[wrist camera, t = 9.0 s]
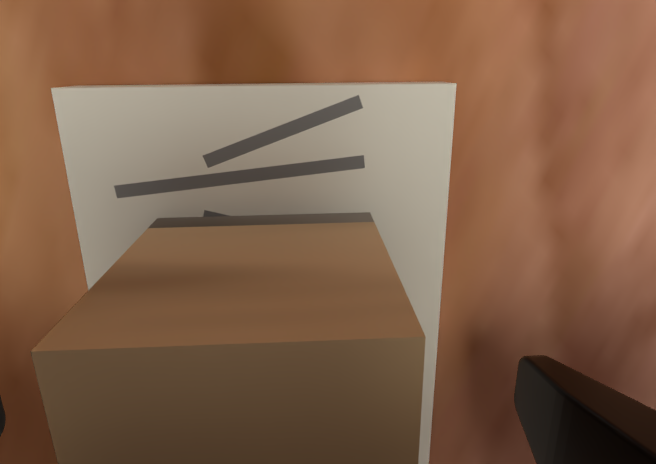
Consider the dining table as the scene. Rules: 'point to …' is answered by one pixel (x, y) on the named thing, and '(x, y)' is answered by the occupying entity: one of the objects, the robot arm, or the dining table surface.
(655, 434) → the robot arm
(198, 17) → the dining table surface
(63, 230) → the dining table surface
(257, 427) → the block
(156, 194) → the board
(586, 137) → the dining table surface
